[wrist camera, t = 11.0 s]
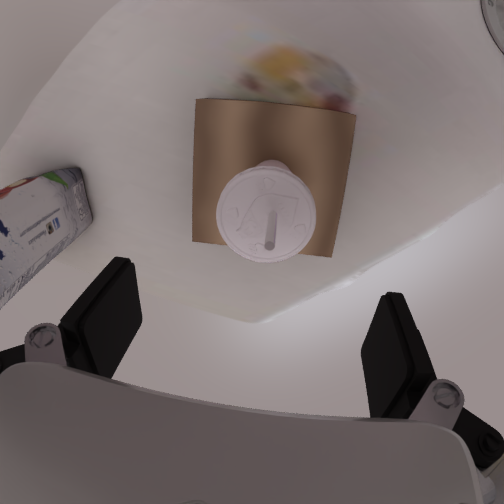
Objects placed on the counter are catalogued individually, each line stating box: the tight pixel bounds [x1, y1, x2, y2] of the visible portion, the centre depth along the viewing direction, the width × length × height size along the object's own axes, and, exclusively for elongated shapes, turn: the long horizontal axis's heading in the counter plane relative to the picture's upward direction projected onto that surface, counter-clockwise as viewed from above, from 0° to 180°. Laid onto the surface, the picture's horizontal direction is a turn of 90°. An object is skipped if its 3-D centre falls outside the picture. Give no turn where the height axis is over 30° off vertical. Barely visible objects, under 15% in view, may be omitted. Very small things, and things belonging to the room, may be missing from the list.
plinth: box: [192, 98, 356, 257], centre depth 30 cm, size 14×14×4 cm
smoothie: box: [216, 160, 316, 263], centre depth 22 cm, size 6×6×14 cm
